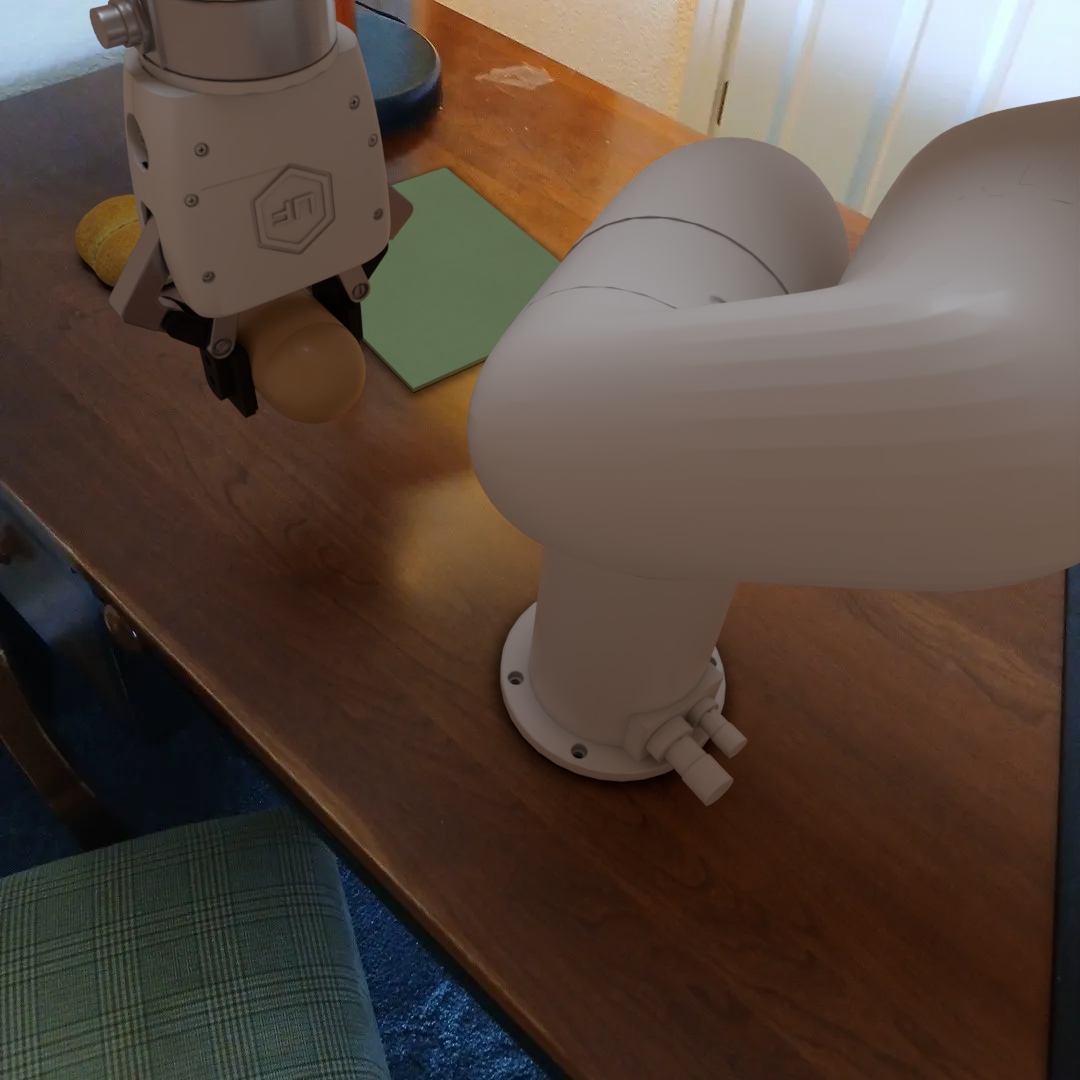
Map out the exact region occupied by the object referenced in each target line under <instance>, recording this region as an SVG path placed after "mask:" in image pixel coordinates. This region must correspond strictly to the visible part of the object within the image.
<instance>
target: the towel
mask: <svg viewBox="0 0 1080 1080" xmlns="http://www.w3.org/2000/svg"><path fill="white" fill-rule="evenodd" d="M390 185H391V184H390ZM391 186H392V187H393V188H395V189H396V190H397V191H398V192H399V193H400V194H402V195H403V196H404V197H405V198H406V199H407V200H408V201H410V202H411V203H412V205H413V208H414V209H413V213H412V215H411V217H410V218H409V219H408V221H407V222H406V223H405V224H404V226H403V227H402V228H401V230H400V231H399V232H398V234H397V235H396V236H395V238H394V239H393V240H391V239H390V241H389V242H388V245H389V247H388V251H387V253H386V255H385V256H384V258H383V259H382V261H381V262H380V264H379V265H378V267H377V268H376V270H375V271H374V273H373V274H372V276H371V277H370V279H369V280H368V281H369V284H370V287H371V288H370V293H369V295H368V296H367V298H366V299H364V300H363V301H361V314H362V327H363V339H362V340H361V341H363V342H364V344H365V345H367V346H368V348H370V349H371V351H373V353H374V354H375V355H377V357H378V358H379V359H380V360H381V361H382V362H383V363H384V364H385V365H386V366H387V367H388V368H389V369H390V370H391V371H392V372H393V373H394V374H395V375H396V376H397V377H398V378H399V379H400V380H401V381H402V382H403V383H404V385H405V386H407V387H408V388H409V390H411V392H413V393H415V392H417V391H419V390H422V389H424V388H426V387H429V386H430V385H433V384H435V383H437V382H439V381H442V380H444V379H446V378H449V377H451V376H453V375H455V374H457V373H460V372H461V371H465V370H466V369H467V370H468V369H470V368H471V367H474V366H475V365H477V364H480V363H483V362H485V361H486V360H487V358H488V356H489V354H490V353H491V351H492V350H493V349H494V347H495V346H496V344H497V343H498V341H499V340H500V338H501V337H502V335H503V334H504V333H505V331H506V330H507V329H508V327H509V326H510V325H511V324H512V322H513V320H514V319H515V318H516V317H517V315H518V314H519V313H520V312H521V311H522V309H523V308H524V307H525V306H526V305H527V303H528V302H529V301H530V300H531V298H532V297H533V296H534V295H535V294H536V292H537V291H538V290H539V289H540V288H541V286H542V285H543V284H544V283H545V282H546V280H547V279H548V278H549V277H550V276H551V274H552V273H553V272H554V271H555V270H556V268H557V267H558V266H559V265H560V263H561V261H560V260H559V259H558V258H556V257H555V256H554V255H553V254H552V253H550V252H549V251H548V250H547V249H546V248H545V247H543V246H542V245H540V243H538V242H537V241H536V240H535V239H533V238H532V237H531V236H530V235H529V234H527V233H526V232H525V231H524V230H522V229H521V228H520V227H519V226H518V225H516V224H515V223H514V222H513V221H512V220H510V219H509V218H508V217H507V216H506V215H505V214H503V213H502V212H501V211H500V210H498V209H497V208H496V207H494V206H493V205H492V204H491V203H490V202H488V201H487V200H486V199H485V198H484V197H483V196H481V195H480V194H479V193H477V192H476V191H475V190H474V189H473V188H472V187H470V186H469V185H468V184H467V183H465V182H464V181H463V180H462V179H461V178H460V177H458V176H457V175H456V174H455V173H453V172H452V171H451V170H450V169H448V168H447V167H446V166H444V167H442V168H439V169H436V170H433V171H429V172H428V173H423V174H421V175H418V176H415V177H412V178H410V179H406V180H403V181H400V182H397V183H394V184H392V185H391ZM311 286H312V285H310V286H309V287H310V288H311V289H312V287H311Z"/></svg>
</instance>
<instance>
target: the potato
mask: <svg viewBox="0 0 1080 1080" xmlns="http://www.w3.org/2000/svg"><path fill="white" fill-rule="evenodd" d="M236 340H237V341H238V342H239V343H240V344H241V346H242V347H243V348H244V349H245V350H246V351H247V353H248V356H249V360H250V365H251V371H252V380H253V384H254V387H255V391H256V392H257V393H258V394H259V395H260V396H261V397H262V398H263V399H264V401H266V403H267V404H268V405H269V406H270V407H272V408H273V409H274V410H275V411H277V412H278V413H279V414H280V415H281V416H282V417H283V416H284V417H286V418H287V419H289V420H291V421H294V422H298V423H303V424H308V425H310V424H311V425H313V424H314V425H316V424H322V423H328V422H331V421H333V420H336V419H337V418H339V417H341V416H343V415H344V414H346V413H347V412H348V411H349V410H350V409H351V408H352V407H353V406H354V405H355V404H356V402H357V401H358V400H359V398H360V396H361V394H362V393H363V389H364V387H365V382H366V377H367V366H366V359H365V354H364V352H363V350H362V348H361V344H360V345H359V343H358V341H357V340H356V339H355V337H354V336H353V335H352V334H351V332H350V331H349V330H348V329H347V328H346V327H345V326H344V325H343V324H342V323H341V322H340V321H339V320H337V319H336V318H335V317H334V316H333V315H332V314H331V313H330V312H329V311H328V310H327V309H326V308H325V307H324V306H323V305H322V304H321V303H320V302H319V301H318V300H317V299H316V298H315V297H314V296H313V295H312V293H311V292H310V291H309V290H308V289H306V287H305V288H302V289H300V290H297V291H295V292H292V293H289V294H287V295H284V296H282V297H279V298H277V299H274V300H271V301H269V302H266V303H264V304H261V305H259V306H256V307H253V308H251V309H248V310H246V311H243V312H240V314H239V320H238V327H237V334H236Z"/></svg>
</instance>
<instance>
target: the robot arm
mask: <svg viewBox="0 0 1080 1080" xmlns="http://www.w3.org/2000/svg"><path fill="white" fill-rule="evenodd" d="M88 12H89V20H90V24H91V27H92V30H93V33H94V35H95V37H96V39H97V41H98V43H99V44H100V45H101V46H102V48H103V49H104V50H109V49H114V48H119V47H121V46H123V47H124V48H126V50H125V51H124V54H123V60H122V61H123V62H122V63H123V67H122V80H123V81H122V94H123V95H122V96H123V97H122V99H123V116H124V131H125V139H126V149H127V157H128V165H129V172H130V177H131V184H132V190H133V195H134V197H135V202H136V207H137V213H138V218H139V222H140V227H141V231H142V233H141V235H140V237H139V239H138V241H137V243H136V245H135V247H134V249H133V251H132V253H131V255H130V257H129V259H128V261H127V263H126V265H125V267H124V269H123V271H122V273H121V275H120V277H119V279H118V281H117V283H116V285H115V287H113V289H112V291H111V293H110V295H109V298H108V305H109V306H110V307H111V309H112V310H113V311H114V312H115V314H117V316H118V317H119V318H120V319H121V320H122V321H123V323H125V324H127V325H130V326H133V327H138V328H141V329H144V330H148V331H152V332H156V333H157V332H161V333H163V334H167V335H168V336H169V337H170V338H172V339H174V340H176V341H179V342H181V343H185V344H187V345H190V346H193V347H195V348H197V349H199V354H200V358H201V362H202V367H203V371H204V376H205V380H206V382H207V384H208V387H209V389H210V390H211V392H212V393H213V394H214V396H215V397H216V398H217V399H218V400H219V401H221V402H222V401H225V400H227V399H228V400H229V401H230V403H231V404H232V405H233V406H234V407H235V408H236V410H237V411H238V412H239V413H240V414H241V416H242V417H244V418H245V419H248V418H250V417H252V416H255V415H256V414H257V411H259V404H258V398H257V393H256V392H257V391H256V389H255V387H254V384H253V380H252V371H251V365H250V360H249V356H248V353H247V351H246V350H245V349H244V348H243V347H242V346H241V344H240V343H239V342H238V341H237V340H236V334H237V327H238V320H239V314H240V312H243V311H246V310H248V309H251V308H253V307H256V306H259V305H261V304H264V303H266V302H269V301H271V300H274V299H277V298H279V297H282V296H284V295H287V294H289V293H292V292H295V291H297V290H300V289H302V288H305V289H306V288H308V287H310V285H312V286H311V287H312V288H311V287H310V288H311V294H312V295H313V296H314V297H315V298H316V299H317V300H318V301H319V302H320V303H321V304H322V305H323V306H324V307H325V308H326V309H327V310H328V311H329V312H330V313H331V314H332V315H333V316H334V317H335V318H336V319H337V320H339V321H340V322H341V323H342V324H343V325H344V326H345V327H346V328H347V329H348V330H349V331H350V332H351V334H352V335H353V336H354V337H355V339H356V340H357V341H358V343H359V345H360V346H361V343H360V342H361V341H363V340H362V339H363V327H362V314H361V301H363V300H364V299H366V298H367V296H368V295H369V293H370V288H371V287H370V284H369V281H368V280H369V279H370V277H371V276H372V274H373V273H374V271H375V270H376V268H377V267H378V265H379V264H380V262H381V261H382V259H383V258H384V256H385V255H386V253H387V251H388V247H389V245H388V242H389V241H390V239H391V240H393V239H394V238H395V236H396V235H397V234H398V232H399V231H400V230H401V228H402V227H403V226H404V224H405V223H406V222H407V221H408V219H409V218H410V217H411V215H412V213H413V209H414V208H413V205H412V203H411V202H410V201H408V200H407V199H406V198H405V197H404V196H403V195H402V194H400V193H399V192H398V191H397V190H396V189H395V188H393V187H392V186H391V184H390V183H389V182H388V178H387V177H388V176H387V169H386V168H387V167H386V161H385V154H384V147H383V141H382V135H381V127H380V124H379V123H380V122H379V117H378V113H377V107H376V103H375V99H374V96H373V91H372V88H371V83H370V79H369V75H368V71H367V68H366V64H365V60H364V56H363V54H362V50H361V47H360V44H359V43H360V42H359V40H358V38H357V35H356V34H355V32H354V31H353V30H352V29H351V28H349V27H348V26H346V25H345V24H343V23H342V22H339V21H337V12H336V1H335V0H108V1H107V4H105V5H99V6H96V7H91V8H90V9H89V11H88ZM847 233H848V232H847V229H846V226H845V222H844V219H843V216H842V214H841V211H840V209H839V207H838V204H837V202H836V200H835V199H834V197H833V195H832V193H831V191H830V190H829V188H828V187H827V185H825V183H824V182H823V180H822V179H821V178H820V177H819V176H818V175H817V174H816V173H815V171H813V170H812V169H811V167H809V166H808V165H807V164H806V163H805V162H803V161H802V160H800V158H798V157H797V156H795V155H794V154H792V153H790V152H788V151H787V150H785V149H783V148H782V147H778V146H775V145H772V144H771V143H767V142H765V141H761V140H757V139H753V138H748V137H739V136H738V137H737V136H722V137H713V138H707V139H702V140H697V141H694V142H692V143H689V144H685V145H683V146H680V147H678V148H675V149H674V150H672V151H669V152H667V153H665V154H664V155H662V156H661V157H659V158H657V159H656V160H654V161H653V162H651V163H650V164H649V165H647V166H645V168H643V169H642V170H641V171H640V172H638V173H637V174H636V175H635V176H634V177H633V178H632V179H630V181H629V182H627V183H626V184H625V185H624V186H623V187H622V188H621V189H620V190H619V192H617V193H616V195H614V197H613V198H612V199H611V200H610V201H609V202H608V203H607V205H606V206H604V208H603V209H602V210H601V212H600V213H599V214H598V215H597V217H596V218H595V219H594V220H593V221H592V222H591V224H590V225H589V226H588V227H587V228H586V229H585V231H584V232H583V234H581V235H580V237H579V238H578V239H577V240H576V241H575V243H574V244H573V245H572V247H570V249H569V250H568V251H567V253H566V255H565V256H564V257H563V259H562V260H561V261H560V262H561V263H560V265H559V266H558V267H557V268H556V270H555V271H554V272H553V273H552V274H551V276H550V277H549V278H548V279H547V280H546V282H545V283H544V284H543V285H542V286H541V288H540V289H539V290H538V291H537V292H536V294H535V295H534V296H533V297H532V298H531V300H530V301H529V302H528V303H527V305H526V306H525V307H524V308H523V309H522V311H521V312H520V313H519V314H518V315H517V317H516V318H515V319H514V320H513V322H512V324H511V325H510V326H509V327H508V329H507V330H506V331H505V333H504V334H503V335H502V337H501V338H500V340H499V341H498V343H497V344H496V346H495V347H494V349H493V350H492V351H491V353H490V354H489V356H488V358H487V360H485V361H484V363H483V365H482V367H481V369H480V371H479V374H478V375H477V379H476V381H475V383H474V386H473V389H472V391H471V395H470V396H471V397H470V400H469V405H468V411H467V417H466V438H467V448H468V454H469V458H470V463H471V466H472V469H473V472H474V475H475V477H476V480H477V481H478V484H479V486H480V488H481V489H482V491H483V493H484V494H485V495H486V496H487V498H488V500H489V501H490V503H491V504H492V506H493V507H494V508H495V509H496V511H497V512H498V513H500V515H501V516H502V517H503V518H504V519H505V520H506V521H507V522H508V523H510V524H511V525H512V526H513V527H515V528H516V529H517V531H520V533H522V534H524V536H526V537H528V538H529V539H531V540H532V541H533V542H535V543H537V544H539V545H541V546H542V547H543V549H542V550H543V551H542V557H541V558H542V559H541V566H540V574H539V581H538V583H539V584H538V589H537V597H536V601H535V602H534V603H532V604H531V605H530V606H529V607H528V608H527V609H525V611H523V613H522V614H521V615H520V616H519V617H518V618H517V620H516V621H515V623H514V624H513V626H512V628H511V629H510V630H509V631H508V634H507V637H506V640H505V642H504V645H503V647H502V653H501V660H500V671H499V675H500V677H499V684H500V689H501V695H502V700H503V704H504V705H505V708H506V710H507V713H508V715H509V718H510V720H511V722H512V723H513V724H514V726H515V728H516V729H517V730H518V732H519V733H520V734H521V736H522V737H523V738H524V740H526V742H528V743H529V744H530V745H531V746H532V747H533V748H534V750H536V751H537V753H539V754H541V755H542V756H543V757H545V758H547V759H548V760H550V761H551V762H552V763H554V764H555V765H557V766H559V767H561V768H564V769H566V770H568V771H570V772H573V773H575V774H577V775H580V776H584V777H588V778H592V779H596V780H601V781H613V782H632V781H642V780H648V779H650V778H655V777H658V776H661V775H664V774H667V773H669V772H671V771H673V770H675V772H676V773H677V774H678V775H679V776H680V777H681V780H682V781H683V782H684V784H685V785H686V786H687V787H688V788H689V789H690V790H691V791H692V793H694V794H695V796H696V797H697V798H698V799H699V800H700V801H701V802H702V804H704V806H706V807H708V806H711V805H712V804H714V803H715V802H717V801H718V800H719V799H720V798H721V797H722V796H723V795H724V794H725V793H727V791H728V790H729V789H730V788H731V786H732V784H733V783H734V778H733V777H732V776H731V774H729V773H728V772H727V770H726V769H725V768H723V766H721V764H719V762H718V761H717V760H716V759H715V758H714V757H713V756H712V755H711V754H710V753H707V752H706V751H705V750H704V749H703V747H704V746H705V745H706V743H707V742H708V741H709V739H711V742H712V743H713V744H714V745H715V746H716V747H717V749H719V750H720V751H721V753H722V754H724V756H725V757H726V758H727V759H731V758H733V757H735V756H736V755H738V754H739V753H740V752H741V751H742V750H743V748H744V747H745V746H746V744H747V743H748V738H746V737H745V736H744V734H743V733H742V732H741V731H739V729H737V727H736V726H735V725H734V724H732V722H729V721H728V720H727V719H726V718H725V717H724V715H723V714H721V713H722V710H723V707H724V704H725V699H726V698H725V696H726V688H727V687H726V677H725V669H724V664H723V662H722V659H721V656H720V653H719V651H718V648H717V647H716V645H717V642H718V639H719V636H720V634H721V632H722V629H723V626H724V623H725V621H726V618H727V616H728V612H729V609H730V607H731V604H732V601H733V599H734V596H735V593H736V590H737V587H738V585H739V583H744V584H745V583H746V584H765V585H781V586H799V587H814V588H815V587H817V588H832V589H833V588H835V589H854V590H869V591H870V590H871V591H873V590H874V591H888V592H889V591H890V592H914V593H915V592H917V593H919V592H921V593H923V592H924V593H962V592H978V591H984V590H992V589H998V588H1005V587H1011V586H1015V585H1019V584H1023V583H1026V582H1028V581H1033V580H1037V579H1042V578H1045V577H1048V576H1050V575H1053V574H1056V573H1059V572H1061V571H1064V570H1067V569H1069V568H1072V567H1074V566H1076V565H1078V564H1080V95H1077V96H1072V97H1065V98H1060V99H1054V100H1047V101H1042V102H1036V103H1030V104H1026V105H1019V106H1015V107H1010V108H1009V107H1008V108H1005V109H1000V110H998V111H992V112H989V113H985V114H983V115H980V116H978V117H974V118H972V119H969V120H967V121H964V122H962V123H960V124H957V125H954V126H952V127H950V128H948V129H947V130H945V131H943V132H941V133H940V134H939V135H937V136H936V137H934V138H932V139H931V140H930V141H929V142H928V143H927V144H926V145H925V146H923V147H922V148H921V149H919V151H918V152H917V153H915V155H913V156H912V157H911V159H910V160H909V161H908V162H907V164H906V165H905V166H904V167H903V169H902V170H901V172H900V173H899V174H898V176H897V177H896V178H895V180H894V182H893V183H892V184H891V186H890V187H889V188H888V190H887V192H886V193H885V195H884V196H883V198H882V200H881V202H880V203H879V205H878V206H877V208H876V209H875V212H874V214H873V215H872V217H871V219H870V221H869V223H868V225H867V226H866V228H865V231H864V233H863V234H862V237H861V239H860V241H859V243H858V244H857V247H856V249H855V251H854V253H853V254H852V257H851V251H850V244H849V237H848V234H847ZM170 274H171V277H172V279H173V284H174V286H175V288H176V290H177V292H178V294H179V296H180V297H181V299H182V300H183V301H181V300H179V299H177V298H173V297H171V296H168V295H165V296H164V295H162V296H160V294H161V292H162V290H163V288H164V286H165V285H166V284H165V282H166V280H167V278H168V277H169V275H170ZM164 284H165V285H164ZM576 756H577V757H576ZM578 757H580V758H578Z"/></svg>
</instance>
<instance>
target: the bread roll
mask: <svg viewBox="0 0 1080 1080" xmlns="http://www.w3.org/2000/svg"><path fill="white" fill-rule="evenodd" d="M141 233H142V231H141V227H140V222H139V218H138V213H137V207H136V202H135V197H134V194H132V193H131V194H129V193H128V194H123V195H122V194H121V195H118V196H113V197H110V198H108V199H105V200H103V201H102V202H100V203H98V204H97V205H95V206H94V207H93V208H92V209H91V210H89V211H88V212H87V213H86V214H85V215H84V216H83V217H82V218H81V220H80V222H79V223H78V225H77V227H76V230H75V234H74V238H75V241H74V242H75V248H76V250H77V252H78V254H79V256H80V257H81V258H82V260H84V262H85V263H86V264H87V265H88V266H90V267H91V269H92V270H93V271H94V272H95V275H97V277H98V279H100V281H102V282H103V283H105V284H106V285H108V286H110V287H113V288H114V287H115V285H116V283H117V281H118V279H119V277H120V275H121V273H122V271H123V269H124V267H125V265H126V263H127V261H128V259H129V257H130V255H131V253H132V251H133V249H134V247H135V245H136V243H137V241H138V239H139V237H140V235H141ZM172 282H173V283H174V281H173V279H172V277H171V274H170V275H169V277H168V278H167V280H166V282H165V284H164V286H166V285H168V284H170V283H172Z"/></svg>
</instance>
